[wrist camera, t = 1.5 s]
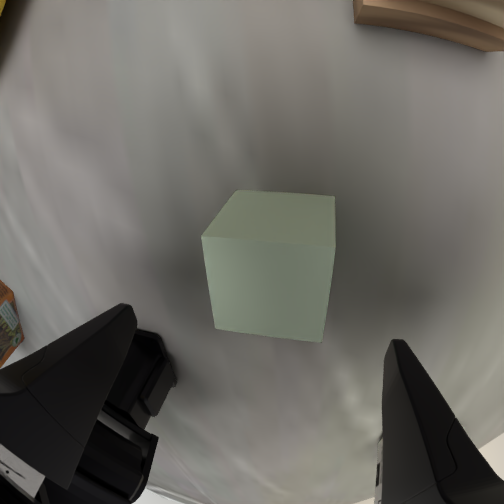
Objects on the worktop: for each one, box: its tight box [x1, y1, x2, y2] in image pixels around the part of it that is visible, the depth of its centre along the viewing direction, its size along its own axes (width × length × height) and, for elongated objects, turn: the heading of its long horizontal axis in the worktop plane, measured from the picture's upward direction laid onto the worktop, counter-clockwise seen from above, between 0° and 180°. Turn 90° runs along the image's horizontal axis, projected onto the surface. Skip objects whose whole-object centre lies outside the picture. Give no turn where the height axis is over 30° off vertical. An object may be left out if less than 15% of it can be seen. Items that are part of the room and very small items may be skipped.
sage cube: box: [201, 190, 336, 343], centre depth 13 cm, size 4×4×4 cm
